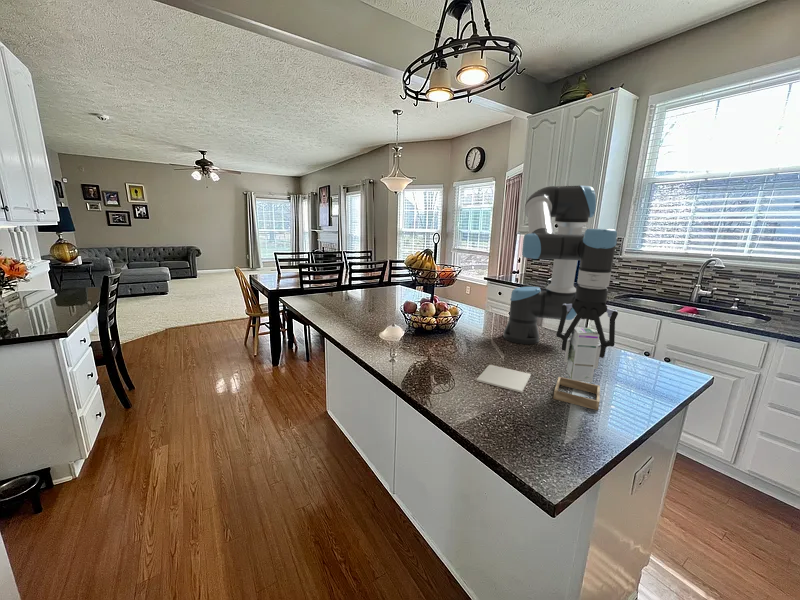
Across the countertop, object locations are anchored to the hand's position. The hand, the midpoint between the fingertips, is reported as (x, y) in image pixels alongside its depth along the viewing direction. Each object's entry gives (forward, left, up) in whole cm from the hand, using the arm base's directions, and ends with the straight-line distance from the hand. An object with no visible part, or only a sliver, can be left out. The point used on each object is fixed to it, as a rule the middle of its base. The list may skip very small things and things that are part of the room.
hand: (580, 363), depth 94 cm
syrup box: (0, 0, -4) cm, 4 cm away
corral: (+1, 0, -10) cm, 10 cm away
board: (+1, -21, -10) cm, 23 cm away
